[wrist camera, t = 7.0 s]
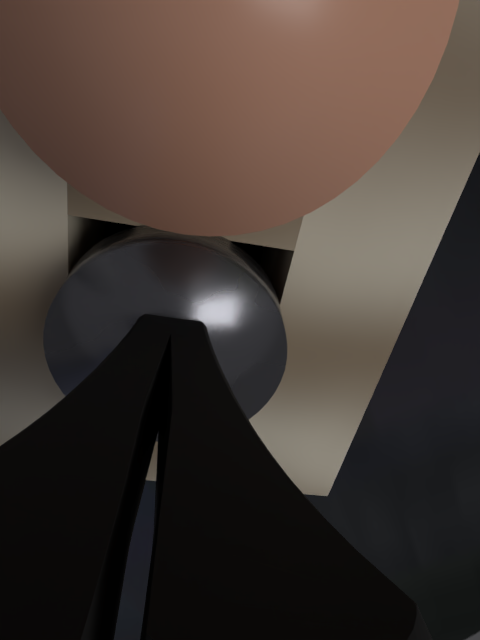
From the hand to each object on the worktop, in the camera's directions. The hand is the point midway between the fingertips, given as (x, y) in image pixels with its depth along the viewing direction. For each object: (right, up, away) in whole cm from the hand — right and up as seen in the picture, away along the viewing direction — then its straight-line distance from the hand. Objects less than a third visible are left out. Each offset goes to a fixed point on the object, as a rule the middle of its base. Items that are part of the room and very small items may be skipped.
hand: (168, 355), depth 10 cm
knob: (0, +2, +4) cm, 4 cm away
